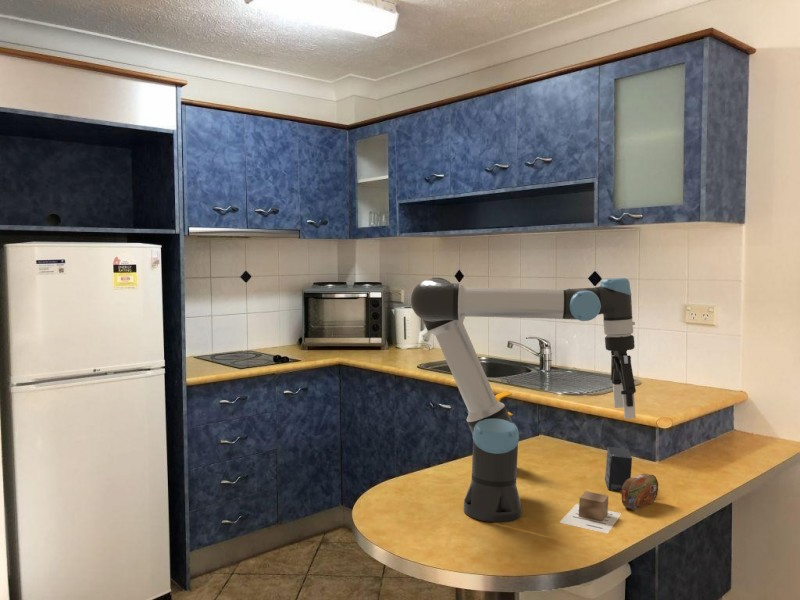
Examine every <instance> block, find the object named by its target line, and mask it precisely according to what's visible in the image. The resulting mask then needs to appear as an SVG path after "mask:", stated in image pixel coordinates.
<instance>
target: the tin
mask: <svg viewBox="0 0 800 600" xmlns="http://www.w3.org/2000/svg"><path fill="white" fill-rule="evenodd" d="M658 492H659V482H658V479H657V477H656V476H655V475H654V474H650V473H649V474H648V473H641V474H638V475H635V476H631V478H629V479H627V480H626V481H625V482H624V484H623V487H622V491H621V503H622V505H623V507H624V508H626V509H629V510H633V511H637V510H639V509H641V508H644V507H647V506H650V505H653V504H654V502H655V501H656V500H657V497H658Z"/></svg>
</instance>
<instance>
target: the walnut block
mask: <svg viewBox="0 0 800 600" xmlns="http://www.w3.org/2000/svg"><path fill="white" fill-rule="evenodd" d="M578 504H579V516H580V517H584V518H588V519H593V520H597V521H603V520H604V518H605V517H606V516H607V514H608V511H609V510H608V509H609V495H606V494H602V493H598V492H592V491H586V490H585V491H584V492H583V493H582V494H581V495H580V496H579V502H578Z"/></svg>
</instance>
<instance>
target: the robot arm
mask: <svg viewBox="0 0 800 600" xmlns="http://www.w3.org/2000/svg"><path fill="white" fill-rule="evenodd" d="M410 305H411V309H412V311H413V312H414V313H415V315H416V316H417V317H419V318H420V319H421V320H422V321H423V324H424V325H425V329H426V330H427V332H428V333H430V334H431V335H434V336H435V338H436V340H437V342H438V343H437V344H438V345H439V347H440V349H441V352H442V355H443V357H444V358H445V361H446V363H447V365H448V368H449V370H450V372H451V374H452V377H453V379H454V381H455V384H456V386H457V389H458V391H459V393H460V395H461V397H462V400H463V402H464V404H465V406H466V409H467V411H468V414H467V417H466V423H467V425H468V427H469V430H470V433H471V434H472V458H471V459H472V460H471V461H472V462H471V463H472V464H471V478H470V479H471V480H470V484H469V487H468V489H467V491H466V495H465V497H464V500H463V512H464V513H465V514H466V515H467V516H468V517H470V518H473V519H475V520H478V521H482V522H488V523H497V524H498V523H499V524H500V523H502V524H503V523H509V522H510V523H511V522H514V521H518V520H519V519H520V518H521V517H522V514H523V513H522V511H523V507H522V501H521V499H520V494H519V491H518V487H517V474H518V473H517V472H518V453H519V442H520V433H519V428H518V427H517V425H516V423H515V422H514V421H513V419H512V418H511V416H509V414H508V412H509V411H508V409H507V407H506V405H505V403H503V402H501V401H500V402H498V401H497V400H496V398H495V395H496V394H495V393H494V391H493V388H492V387H491V384H490V381H489V379H488V377H487V375H486V373H485V371H484V368H483V365H482V364H481V362H480V359H479V356H478V354H477V352H476V349H475V348H474V345H473V343H472V340H471V339H470V336H469V334H468V331H467V329H466V327H465V324H464V321H465V317H475V318H477V317H478V318H481V317H482V318H507V319H509V318H512V319H513V318H516V319H517V318H518V319H545V320H547V319H551V320H553V319H554V320H555V319H556V320H577V321H581V322H589V321H591V320H594V319H595V318H596V317H597V316H598V315H602V317H603V322H602V323H603V334H604V335H606V336H605V337H604V343H605V344H604V346H605V350H606V351H608V352H609V351H610V355H611V359H610V361H611V362H610V363H611V365H610V381H611V383H612V390H613V392H612V393H613V406H614V409H617V408H618V409H619V408H621V409H622V408H623V417H624V419H625V420H630V419H632V420H633V419H636V402H635V393H636V392H637V389H636V384H635V379H634V373H633V367H632V356H631V355H628V353H627V352H628V351H633V350H634V349H635V348H636V347H635V336H634V335H633V334H634V326H635V325H636V323H635V321H633V306H632V305H633V303H632V292H631V284H630V280H629V279H628V278H627V277H618V278H617V277H615V278H604V279H601V281H600V286H595V287H580V288H567V289H544V288H543V289H539V288H507V287H506V288H503V287H502V288H500V287H498V288H497V287H466V286H464V284H462V283H452V282H450V281H449V280H447V279H446V278H443V277H442V278H441V277H432V278H428V279H424V280H422V281H420V282H419V283H418V284H417V285H416V286H415V287H414V288H413V290H412V293H411V295H410Z"/></svg>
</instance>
